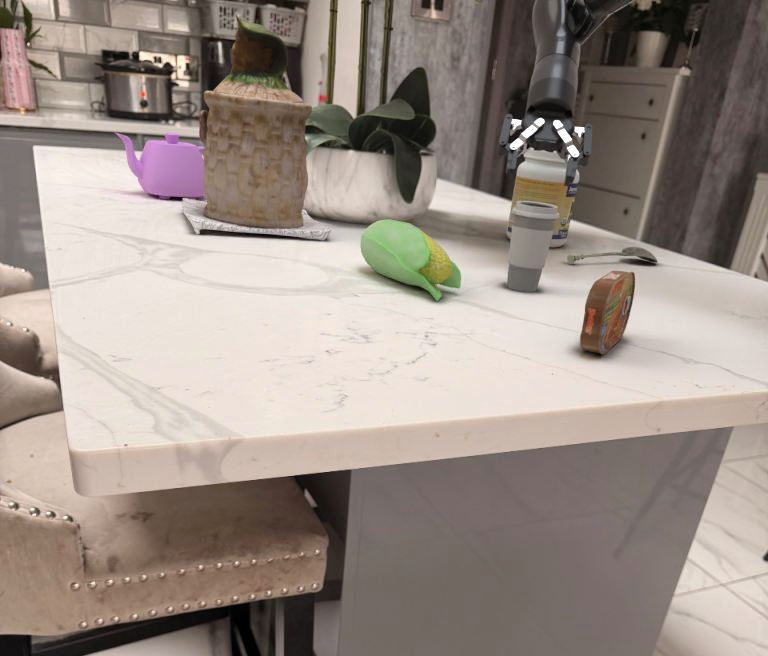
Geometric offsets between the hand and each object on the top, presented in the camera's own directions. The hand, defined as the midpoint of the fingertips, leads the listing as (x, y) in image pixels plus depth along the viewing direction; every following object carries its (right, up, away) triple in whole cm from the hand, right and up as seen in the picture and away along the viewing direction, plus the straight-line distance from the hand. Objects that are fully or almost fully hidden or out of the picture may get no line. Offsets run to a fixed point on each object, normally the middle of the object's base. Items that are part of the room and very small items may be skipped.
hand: (539, 179), depth 117 cm
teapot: (-69, +14, +40) cm, 81 cm away
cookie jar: (-48, +1, +22) cm, 53 cm away
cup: (-3, -17, -1) cm, 18 cm away
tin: (+2, -31, -24) cm, 39 cm away
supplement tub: (+7, +3, +37) cm, 38 cm away
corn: (-21, -18, -6) cm, 28 cm away
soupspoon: (+19, -5, +25) cm, 32 cm away
